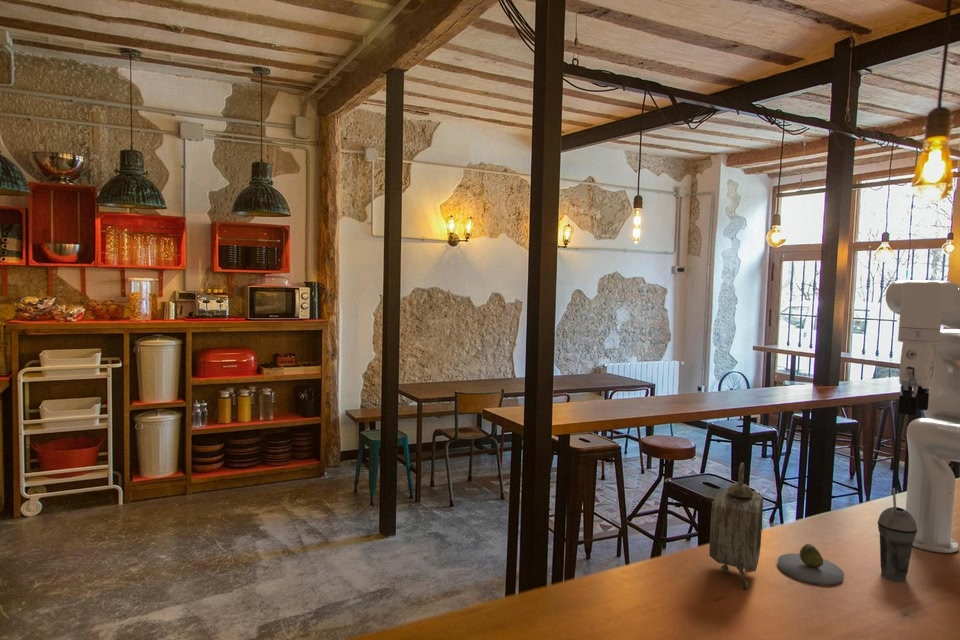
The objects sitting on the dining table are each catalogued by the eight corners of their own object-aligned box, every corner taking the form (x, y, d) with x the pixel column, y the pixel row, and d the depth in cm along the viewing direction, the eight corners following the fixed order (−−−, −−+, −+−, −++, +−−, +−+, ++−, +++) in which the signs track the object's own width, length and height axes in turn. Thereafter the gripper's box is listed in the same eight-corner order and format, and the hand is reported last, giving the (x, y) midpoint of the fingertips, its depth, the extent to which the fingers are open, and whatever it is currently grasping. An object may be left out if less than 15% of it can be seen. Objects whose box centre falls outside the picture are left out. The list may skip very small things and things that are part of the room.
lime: (801, 559, 138) (802, 538, 138) (824, 566, 135) (826, 544, 134) (796, 566, 134) (798, 544, 134) (821, 573, 131) (822, 551, 131)
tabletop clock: (753, 594, 123) (759, 475, 122) (706, 583, 128) (712, 467, 126) (759, 567, 136) (765, 458, 134) (717, 557, 140) (722, 452, 139)
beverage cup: (920, 587, 129) (927, 495, 127) (882, 582, 130) (889, 492, 129) (903, 571, 136) (910, 484, 134) (868, 567, 137) (874, 481, 136)
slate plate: (791, 552, 144) (791, 548, 144) (852, 573, 134) (852, 568, 134) (767, 568, 135) (768, 564, 135) (831, 591, 125) (831, 587, 125)
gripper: (929, 339, 125) (923, 419, 126) (948, 335, 137) (943, 410, 138) (887, 336, 131) (882, 413, 132) (909, 333, 142) (904, 404, 143)
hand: (913, 411), depth 135 cm, fingers open, 9 cm apart
